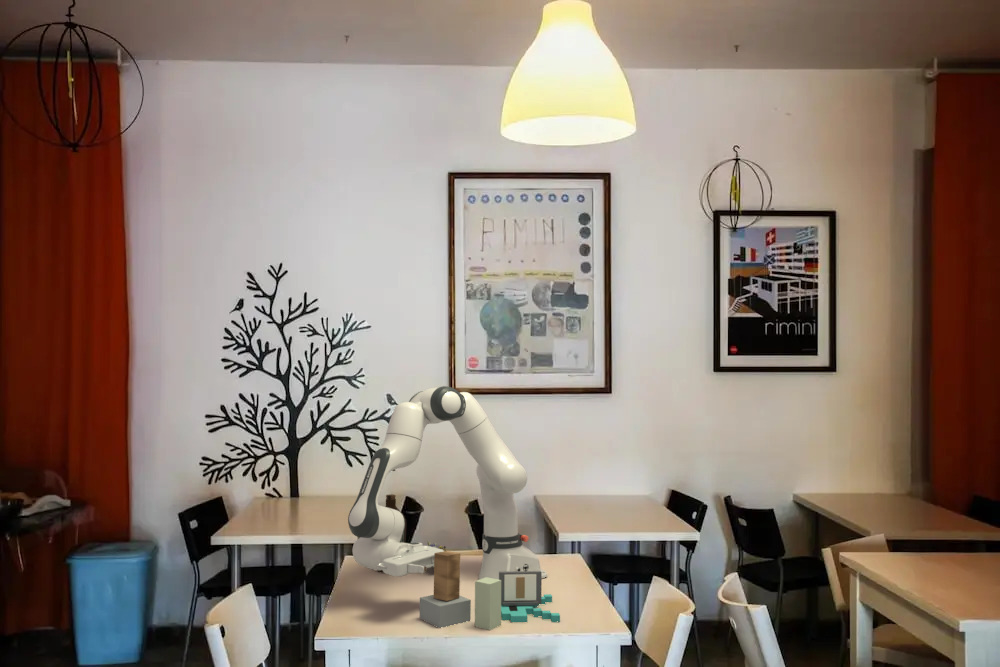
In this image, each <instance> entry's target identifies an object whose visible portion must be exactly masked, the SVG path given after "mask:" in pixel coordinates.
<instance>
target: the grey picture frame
mask: <svg viewBox="0 0 1000 667" xmlns="http://www.w3.org/2000/svg"><path fill="white" fill-rule="evenodd" d="M542 579H543V578H542V572H541V571H504V572H499V580H501V605H503V606H522V605H538V604H541V597H542V586H543V585H542V581H543V580H542Z"/></svg>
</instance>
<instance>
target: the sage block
mask: <svg viewBox="0 0 1000 667" xmlns="http://www.w3.org/2000/svg"><path fill="white" fill-rule="evenodd" d="M499 625H501V626H502V618H501V580H498V579H493V578H488V577H485V578H483V579H478V580H475V581H474V627H475V626H476V627H475V628H479V627H480V629H483V630H486V631H491V629H492V630H493V629H495V628H498V627H500V626H499ZM497 626H498V627H497Z"/></svg>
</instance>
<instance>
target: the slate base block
mask: <svg viewBox="0 0 1000 667" xmlns="http://www.w3.org/2000/svg"><path fill="white" fill-rule="evenodd" d="M433 596H434V594H432V595H426V596H422V597H419V618H421V619H423V620H425V621H427V622H426V623H428V622H429V623H428V624H430V623H431V624H430V625H432V624H433V625H432V626H434V625H435V626H434V627H436V626H437V628H438V627H439V629H442V628H441V627H443V628H446V626H447V627H450V625H452V626H455V625H454V624H456V625H459V624H458V623H460V624H463V622H464V623H467V622H466V621H468V622H471V621H470V620H471V614H472V613H471V603H472V602H471V600H472V599H469V598H467V597H465V596H462V595H461V594H459V598H457V599H453V600H449V601H444V600H440V599H436V598H433ZM421 619H420V620H421ZM423 620H422V621H423ZM425 621H424V622H425Z"/></svg>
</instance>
